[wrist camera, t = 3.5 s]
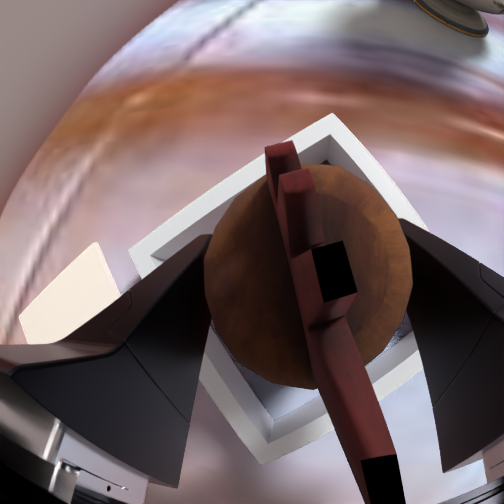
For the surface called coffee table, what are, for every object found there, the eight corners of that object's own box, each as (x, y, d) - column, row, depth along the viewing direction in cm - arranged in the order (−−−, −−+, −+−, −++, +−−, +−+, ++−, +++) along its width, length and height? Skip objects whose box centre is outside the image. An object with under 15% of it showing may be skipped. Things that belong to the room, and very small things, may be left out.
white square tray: (268, 440, 15) (261, 465, 12) (154, 258, 18) (127, 250, 15) (452, 315, 14) (478, 317, 11) (329, 140, 17) (332, 112, 14)
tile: (76, 435, 17) (73, 437, 16) (22, 316, 19) (18, 316, 19) (173, 390, 16) (170, 392, 16) (98, 243, 18) (94, 241, 18)
